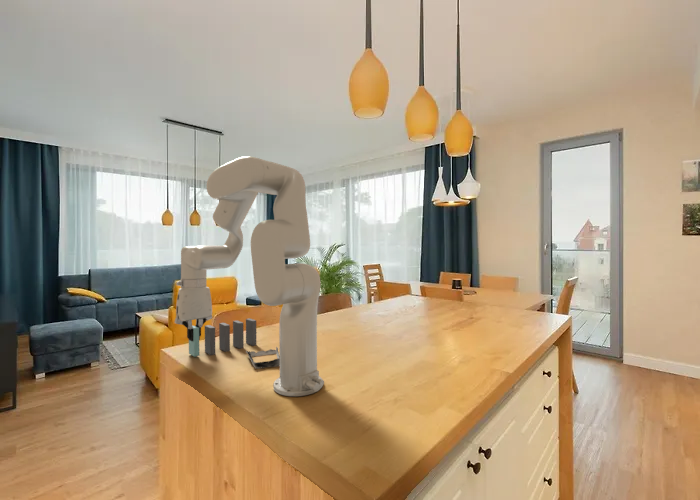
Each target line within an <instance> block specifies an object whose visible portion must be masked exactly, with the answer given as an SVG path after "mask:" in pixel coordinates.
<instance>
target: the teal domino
mask: <svg viewBox="0 0 700 500" xmlns="http://www.w3.org/2000/svg"><path fill="white" fill-rule="evenodd" d="M192 327H193V328H192V329H193V341H190V340H189V339H188V354H189V355H190V356H193V357H199V356H200V355H201V354H200V353H201V352H200V340H199V328H198V327H196V325H192Z"/></svg>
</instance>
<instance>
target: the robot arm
mask: <svg viewBox="0 0 700 500" xmlns="http://www.w3.org/2000/svg"><path fill="white" fill-rule="evenodd" d="M206 192H207V194H208V195H209V197H210V198H212V199H214V200H216V201H217V200H218V204H217V206H216V207H215V209H214V212H213V214H212V220H213V221H214V223H215V224H216V225H217V226H218V227H219V228H221V229H223V230H224V231H226V232H228V236H227V238H226V240H225V242H224V244H223V245H190V246H189V245H188V246H187V245H186V246H184V247H182V248H181V250H180V280H178V281H176V286H177V287H178V286H179V287H180V288H179V289H178V292H177V298H176V308H175V319H174V324H175V325H181V326H182V325H183V326H184V327H185V328H186V338H187V339H188V341H189V340H190V341H193V329H192V328H193V327H192V326H193V321H194V320H195V326H196V327H198V328H199V341H201V340H200V339H201V337H202V327H203V326H204V324H205V323H206V322H208V321H210V320H212V319H213V303H212V302H213V301H212V296H211V295H212V294H211V290H210V287H209V286H207V271H209V270H219V269H227V268H229V267H232V266H233V265H234V263H235V262H236V261H237V259H238V257H239V256H240V254H241V253H242V250H243V246H244V236H243V235H244V234H243V231H242V227H241V226H242V225H243V223H244V221H245V219H246V216H247V215H248V213H249V211H250V209H251V208H252V206H253V204H254V202H255V200H256V198H257V196H258V194H259V193H261V194H268V195H273V196H275V195H276V197H275V198H274V201H273V202H274V203H273V207H272V211H273V218H274V219H266V220H262V221H260V222H259V223H258V224H256V226H255V227H254V229H253V230H252V233H251V236H250V254H251V265H252V274H253V281H254V282H253V283H254V288H255V292H256V295H257V297H258V299H259V300H260V302H262V304H264V305H266V306H268V307H269V306H271V307H274V306H275V307H276V306H281V305H282V307H281V310H280V314H279V334H278V335H279V340H278V341H279V356H280V357H279V358H280V366H279V377H278V378H276V379H275V380H274V382H273V390H274V392H276V393H277V394H279V395H282V396H286V397H304V396H308V395H312V394H315V393H317V392H319V391H320V390H321V389H322V388H323V386H324V384H325V380H324V379H323V378H322V377H321V376H320V371H319V370H318V304H319V296H320V291H321V285H322V284H321V277H320V276H321V275H320V274H319V272H318V271H317V269H316V268H315V267H313V266H312V265H311V264H307V263H300V262H298V263H287V264H286V262H285V261H286V259H287V260H289V259H291V260H292V259H298V258H303V257H305V256H306V255H307V254H308V253H309V251H310V249H311V238H310V237H311V236H310V229H309V227H310V226H309V217H308V210H307V203H306V183H305V180H304V177H303V175H302V174H301V173H300V171H298V170H297V169H295V168H293V167H290V166H287V165H283V164H280V163H278V162H272V161H268V160H265V159H262V158H260V157H259V158H258V157H256V156H255V157H254V156H249V155H247V156H241V157H238V158H235V159H234V160H231V161H229V162H226V163H224V164H222V165H221V166H218V167H217V168H215V170H213V171H212V172H211V173H210V175H209V176H208V179H207V181H206Z"/></svg>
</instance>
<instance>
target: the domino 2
mask: <svg viewBox="0 0 700 500" xmlns="http://www.w3.org/2000/svg"><path fill="white" fill-rule="evenodd" d="M218 324H219V325H218V334H219V335H218V336H219V337H218V339H219V341H218V343H219V350H221V351H222V352H224V353H227V352H230V351H231V330H230V329H231V326H230V325H231V324H228V323H226V322H221V323H218Z"/></svg>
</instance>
